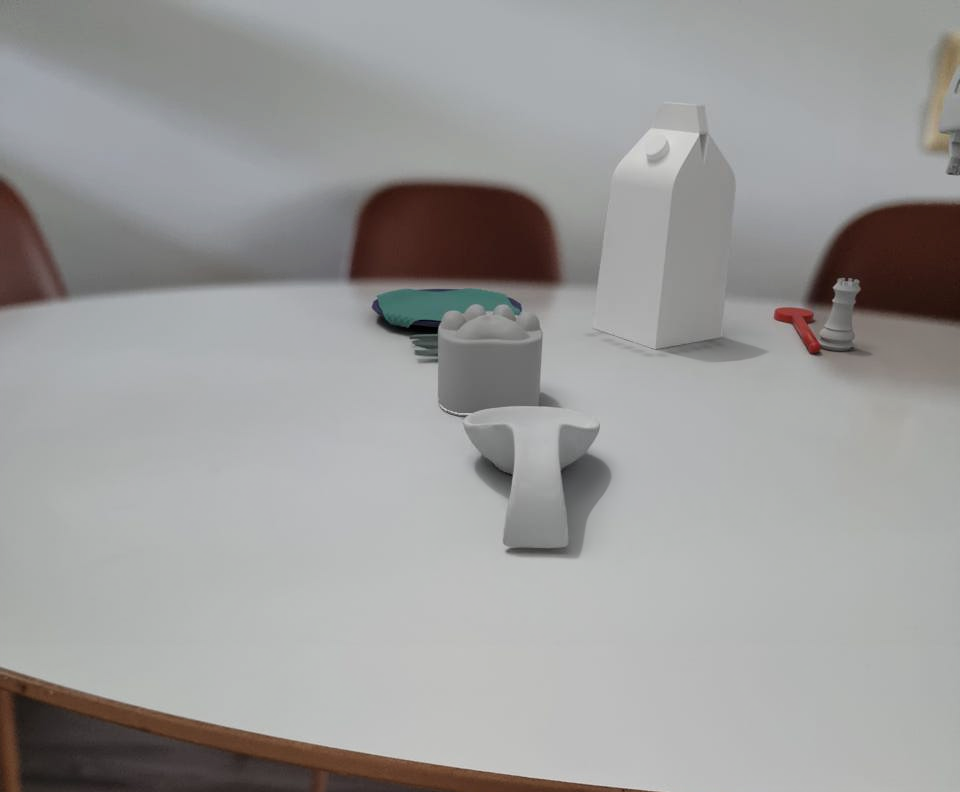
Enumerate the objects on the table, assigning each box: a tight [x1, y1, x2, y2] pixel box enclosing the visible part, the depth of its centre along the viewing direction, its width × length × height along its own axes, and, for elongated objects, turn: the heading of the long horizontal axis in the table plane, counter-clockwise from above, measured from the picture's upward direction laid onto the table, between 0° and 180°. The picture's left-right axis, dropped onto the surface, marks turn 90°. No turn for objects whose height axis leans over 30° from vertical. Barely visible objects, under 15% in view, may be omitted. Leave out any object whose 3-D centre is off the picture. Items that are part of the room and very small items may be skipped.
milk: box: [591, 101, 737, 350], centre depth 119 cm, size 12×12×26 cm
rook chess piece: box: [817, 277, 862, 352], centre depth 120 cm, size 4×4×8 cm
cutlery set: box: [371, 287, 523, 356], centre depth 125 cm, size 20×30×2 cm, turn 10°
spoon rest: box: [462, 405, 601, 549], centre depth 79 cm, size 24×12×7 cm, turn 0°
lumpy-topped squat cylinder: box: [437, 304, 544, 417], centre depth 99 cm, size 10×13×9 cm
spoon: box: [773, 306, 822, 355], centre depth 127 cm, size 21×5×1 cm, turn 172°
